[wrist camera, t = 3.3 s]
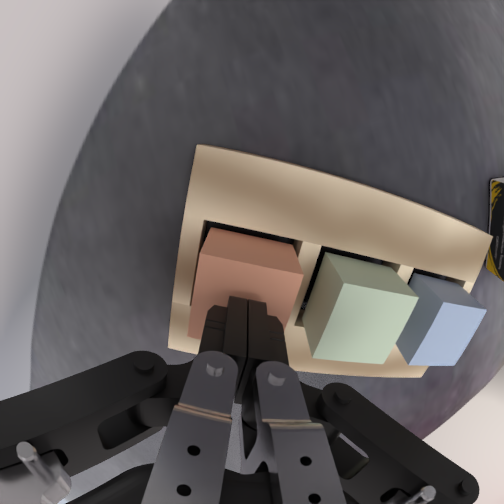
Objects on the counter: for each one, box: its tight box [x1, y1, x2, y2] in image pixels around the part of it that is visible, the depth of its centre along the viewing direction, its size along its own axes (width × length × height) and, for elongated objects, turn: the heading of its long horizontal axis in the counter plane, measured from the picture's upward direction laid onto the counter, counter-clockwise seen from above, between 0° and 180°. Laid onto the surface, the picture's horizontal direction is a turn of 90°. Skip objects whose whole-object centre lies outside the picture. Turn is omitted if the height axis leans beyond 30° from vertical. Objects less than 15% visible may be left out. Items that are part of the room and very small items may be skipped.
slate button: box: [395, 273, 487, 366], centre depth 15 cm, size 4×4×4 cm
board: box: [168, 144, 493, 377], centre depth 17 cm, size 12×19×2 cm, turn 77°
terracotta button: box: [187, 227, 304, 340], centre depth 14 cm, size 4×4×4 cm
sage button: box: [302, 252, 419, 364], centre depth 14 cm, size 4×4×4 cm
